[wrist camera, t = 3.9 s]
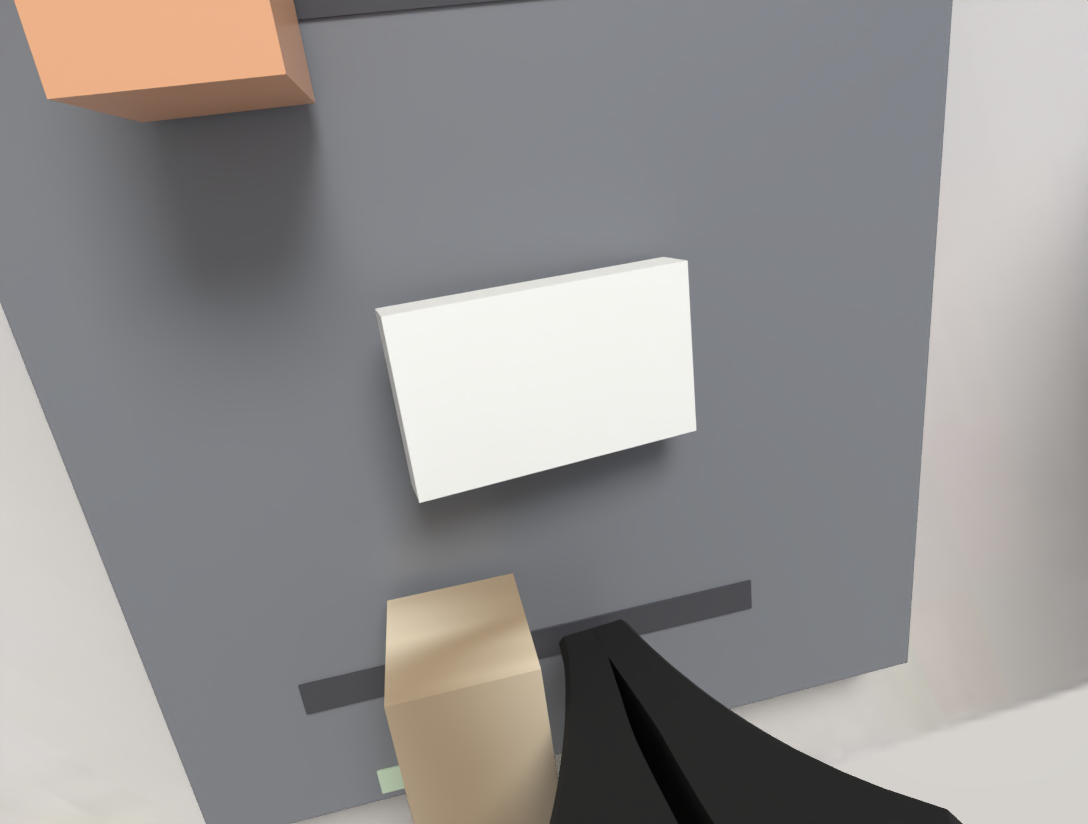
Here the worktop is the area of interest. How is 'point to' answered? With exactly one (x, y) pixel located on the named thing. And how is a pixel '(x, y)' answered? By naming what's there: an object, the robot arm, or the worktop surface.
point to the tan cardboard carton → (469, 706)
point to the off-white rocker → (540, 373)
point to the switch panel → (468, 265)
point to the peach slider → (168, 55)
